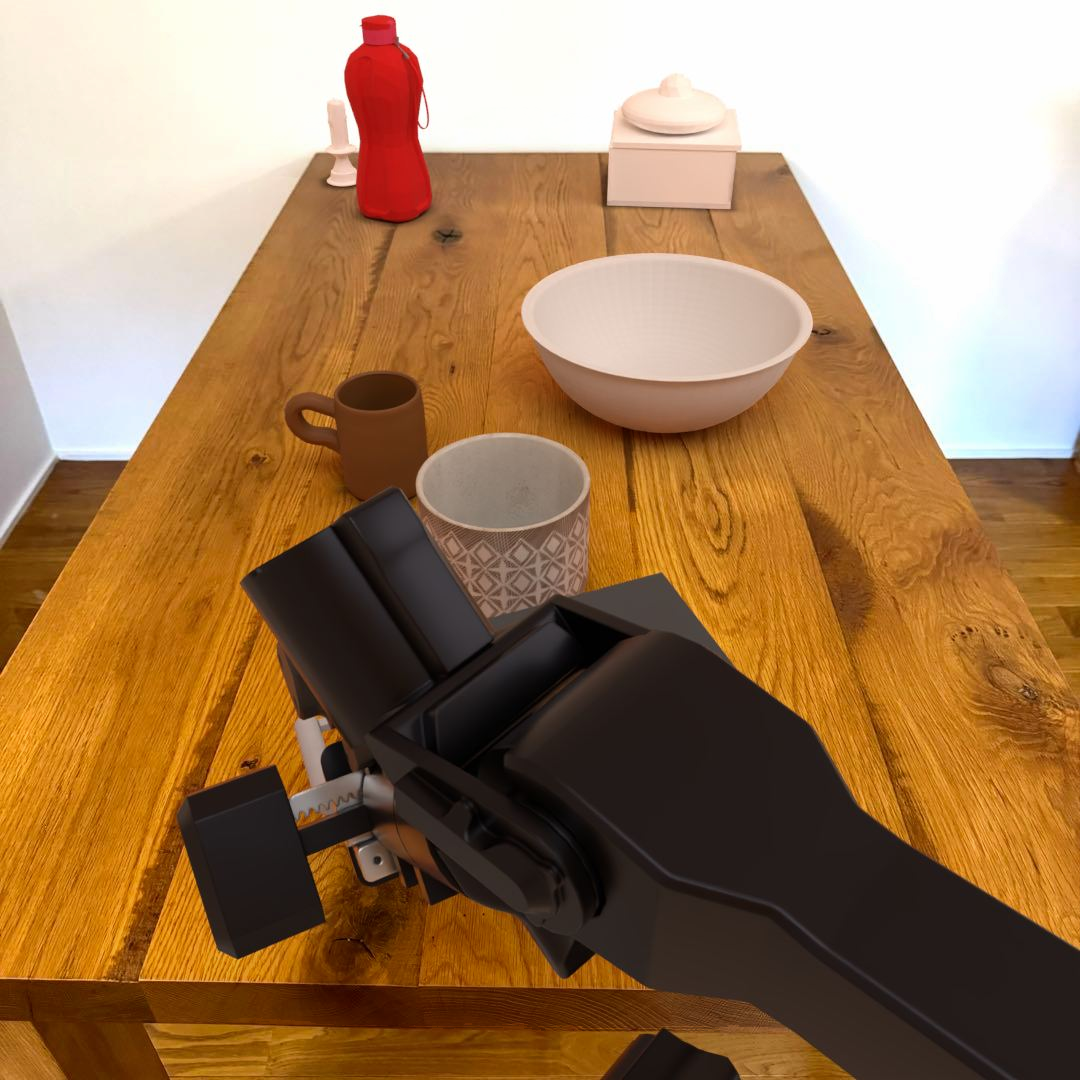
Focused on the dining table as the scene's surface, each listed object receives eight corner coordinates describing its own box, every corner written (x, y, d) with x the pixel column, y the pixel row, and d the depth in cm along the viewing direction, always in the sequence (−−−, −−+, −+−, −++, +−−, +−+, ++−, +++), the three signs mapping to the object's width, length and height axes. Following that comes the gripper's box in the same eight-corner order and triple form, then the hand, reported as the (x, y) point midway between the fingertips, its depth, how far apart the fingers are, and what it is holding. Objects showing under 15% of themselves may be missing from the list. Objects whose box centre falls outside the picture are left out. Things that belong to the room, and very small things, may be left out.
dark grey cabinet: (536, 858, 62) (535, 757, 57) (474, 722, 71) (467, 623, 65) (735, 789, 66) (753, 689, 60) (653, 669, 75) (662, 571, 69)
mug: (288, 507, 90) (270, 414, 85) (304, 459, 96) (288, 369, 91) (426, 507, 90) (417, 413, 85) (433, 458, 96) (426, 368, 91)
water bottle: (418, 230, 141) (402, 28, 126) (350, 217, 145) (326, 20, 129) (451, 207, 147) (440, 13, 132) (385, 196, 151) (367, 6, 136)
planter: (619, 603, 80) (625, 493, 74) (476, 666, 75) (469, 553, 69) (532, 521, 89) (531, 415, 82) (398, 571, 83) (386, 463, 77)
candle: (347, 189, 154) (337, 104, 146) (319, 183, 156) (308, 99, 149) (370, 178, 157) (361, 95, 150) (342, 172, 159) (332, 90, 152)
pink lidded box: (612, 165, 162) (616, 55, 152) (729, 168, 160) (740, 57, 150) (606, 205, 148) (610, 87, 138) (734, 209, 146) (747, 90, 137)
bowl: (795, 494, 92) (813, 395, 85) (494, 461, 96) (491, 364, 90) (798, 351, 113) (812, 263, 107) (551, 330, 117) (551, 244, 111)
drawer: (339, 906, 59) (322, 825, 54) (302, 771, 66) (284, 691, 62) (610, 814, 63) (615, 733, 59) (547, 698, 71) (546, 619, 67)
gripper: (636, 501, 39) (514, 564, 54) (120, 661, 32) (141, 683, 47) (735, 787, 38) (584, 772, 53) (228, 1010, 32) (216, 923, 46)
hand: (392, 780), depth 50 cm, fingers closed
